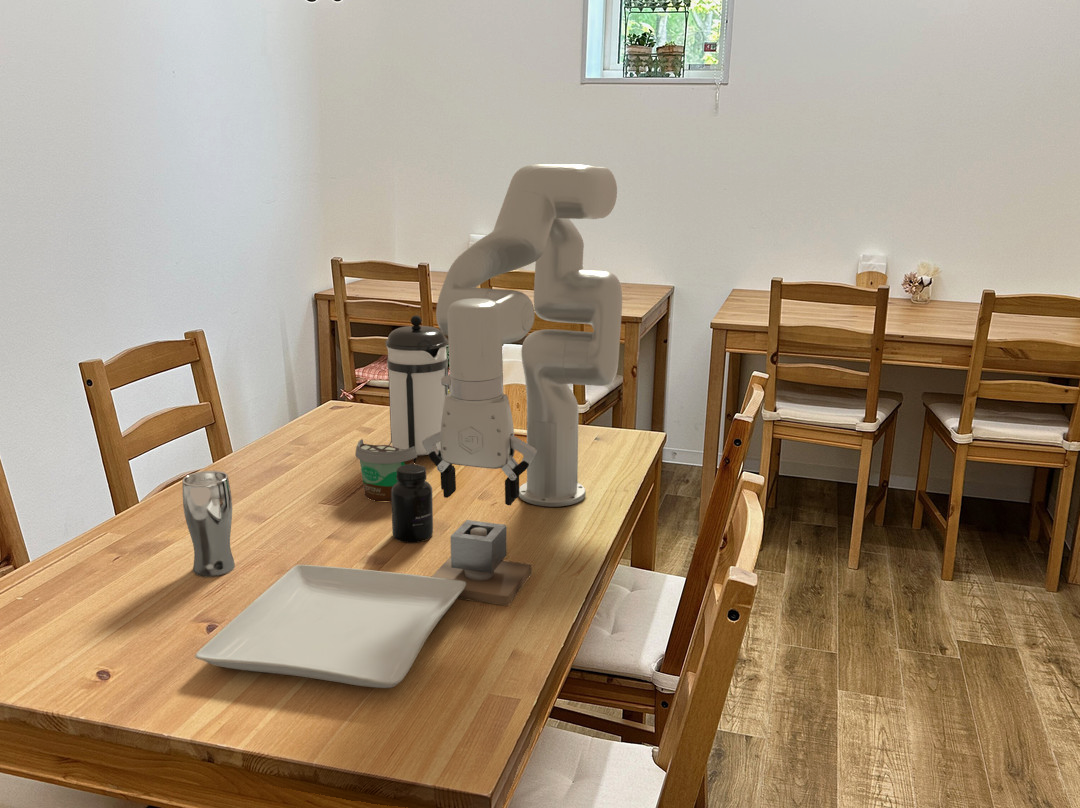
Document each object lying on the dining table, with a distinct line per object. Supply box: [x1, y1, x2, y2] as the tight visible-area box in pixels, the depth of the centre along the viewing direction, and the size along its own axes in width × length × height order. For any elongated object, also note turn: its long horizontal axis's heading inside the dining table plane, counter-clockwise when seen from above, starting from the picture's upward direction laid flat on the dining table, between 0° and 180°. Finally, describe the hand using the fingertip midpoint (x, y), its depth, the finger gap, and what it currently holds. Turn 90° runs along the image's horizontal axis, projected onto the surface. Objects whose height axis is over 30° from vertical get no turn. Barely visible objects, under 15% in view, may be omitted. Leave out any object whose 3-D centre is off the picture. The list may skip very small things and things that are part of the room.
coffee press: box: [385, 315, 449, 464], centre depth 192 cm, size 17×16×30 cm
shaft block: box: [430, 527, 533, 607], centre depth 136 cm, size 11×13×8 cm
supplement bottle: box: [390, 463, 434, 544], centre depth 153 cm, size 7×7×12 cm
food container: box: [354, 438, 418, 502], centre depth 170 cm, size 12×6×10 cm, turn 68°
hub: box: [450, 519, 508, 573], centre depth 136 cm, size 6×6×5 cm
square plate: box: [195, 564, 466, 689], centre depth 122 cm, size 27×27×4 cm
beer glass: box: [181, 470, 236, 578], centre depth 140 cm, size 7×7×15 cm
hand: (480, 498), depth 135 cm, fingers open, 9 cm apart
